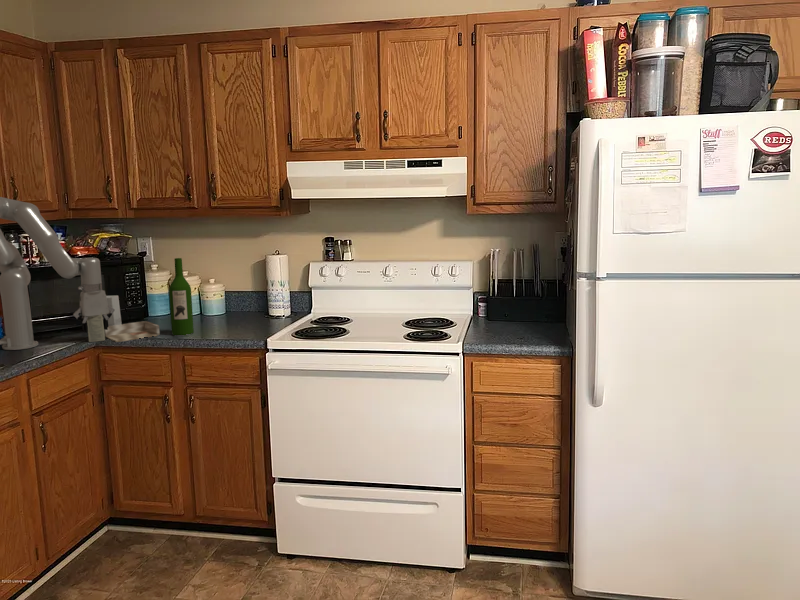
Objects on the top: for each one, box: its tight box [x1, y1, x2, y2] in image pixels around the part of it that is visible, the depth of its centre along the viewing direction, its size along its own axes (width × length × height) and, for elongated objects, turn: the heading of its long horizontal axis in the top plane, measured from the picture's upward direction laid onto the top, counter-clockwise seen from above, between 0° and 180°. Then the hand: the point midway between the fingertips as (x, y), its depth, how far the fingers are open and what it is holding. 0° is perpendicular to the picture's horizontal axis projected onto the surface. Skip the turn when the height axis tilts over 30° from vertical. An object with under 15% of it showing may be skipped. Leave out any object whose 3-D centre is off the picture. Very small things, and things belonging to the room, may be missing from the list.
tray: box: [104, 320, 161, 343], centre depth 289 cm, size 18×14×4 cm
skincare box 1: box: [86, 312, 106, 343], centre depth 280 cm, size 6×4×12 cm
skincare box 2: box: [103, 294, 123, 333], centre depth 300 cm, size 8×7×16 cm
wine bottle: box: [168, 257, 195, 336], centre depth 291 cm, size 9×9×32 cm
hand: (95, 330), depth 281 cm, fingers closed on skincare box 1, 7 cm apart
